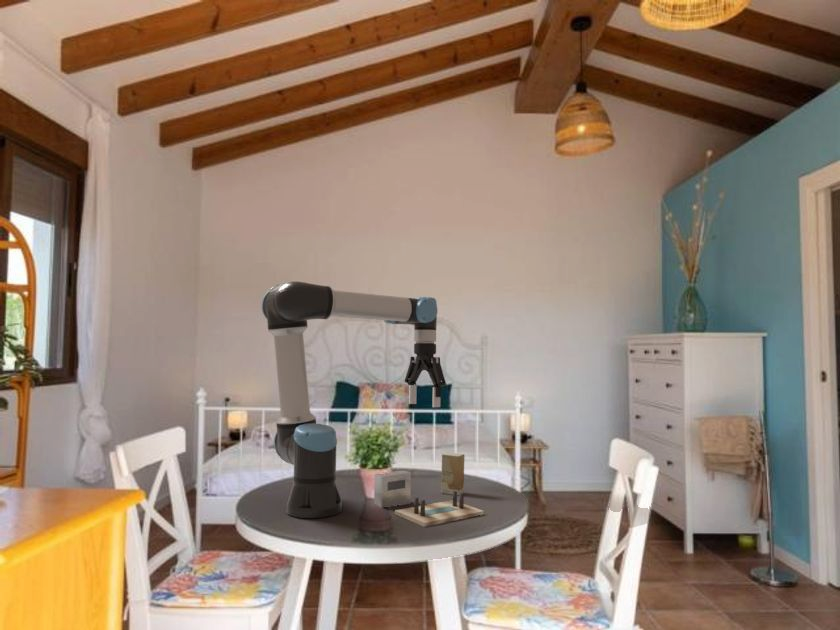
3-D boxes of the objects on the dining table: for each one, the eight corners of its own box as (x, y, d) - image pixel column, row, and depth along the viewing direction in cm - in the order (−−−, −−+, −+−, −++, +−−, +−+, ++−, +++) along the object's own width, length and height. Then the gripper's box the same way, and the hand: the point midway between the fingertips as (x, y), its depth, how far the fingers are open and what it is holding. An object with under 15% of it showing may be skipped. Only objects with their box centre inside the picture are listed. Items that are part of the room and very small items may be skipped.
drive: (381, 508, 169) (381, 476, 169) (374, 505, 172) (374, 474, 172) (410, 503, 174) (410, 472, 175) (403, 500, 178) (403, 470, 178)
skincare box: (440, 493, 187) (440, 454, 187) (446, 490, 190) (446, 451, 191) (459, 495, 184) (459, 455, 184) (464, 492, 187) (464, 453, 188)
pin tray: (424, 526, 151) (424, 506, 152) (394, 514, 163) (394, 495, 163) (483, 514, 163) (483, 496, 163) (452, 503, 174) (452, 486, 175)
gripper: (457, 342, 195) (456, 408, 193) (413, 343, 215) (412, 402, 213) (438, 342, 190) (437, 409, 189) (395, 342, 210) (394, 402, 209)
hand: (424, 405), depth 201 cm, fingers open, 13 cm apart
